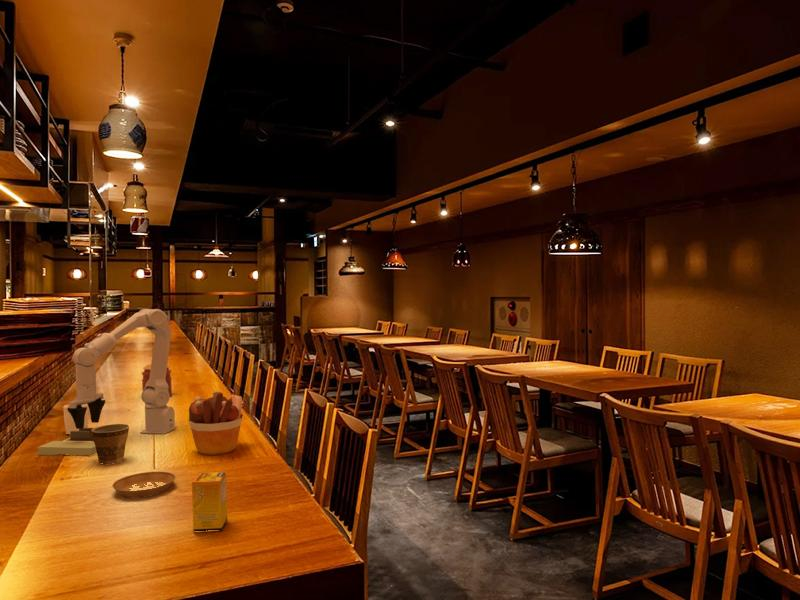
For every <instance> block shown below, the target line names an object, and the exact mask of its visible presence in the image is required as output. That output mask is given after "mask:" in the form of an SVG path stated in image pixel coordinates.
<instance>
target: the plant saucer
mask: <svg viewBox="0 0 800 600" xmlns="http://www.w3.org/2000/svg"><path fill="white" fill-rule="evenodd" d="M176 478H177V477H176V475H175V474H174V473H172V472H168V471H147V472H145V471H144V472H140V473H134V474H130V475H126V476H124V477H121V478H119V479H117V480H116V481H114V482H113V484H112V489H114V490H115V491H116V492H117V493H118V494H120V495H122V497H125V498H131V497H139V498H145V497H144V496H147V497H151V496H150V495H152V496H154V494H155V495H158V494H160V492H161V493H163V492H164V490H165V491H166V490H167V489H168V488H169V487H170V486H171V485H172V484H173V483H174V481H175V480H176ZM147 482H151V483H152V484H153V485H154V487H156V488H152V489H146V490H137V491H130V490H131V489H129V488H133V487H132V485H134V484H137V485H135V486H140V487H139V488H143V487H146V486H145V485H147ZM155 482H158V483H159V482H163V483H166V484H165V485H163V486H159V487H157V486H158V485H157V484H156V483H155ZM144 484H145V485H144ZM148 486H152V485H148ZM162 491H163V492H162ZM157 493H158V494H157Z"/></svg>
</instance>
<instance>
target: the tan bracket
mask: <svg viewBox="0 0 800 600" xmlns="http://www.w3.org/2000/svg"><path fill="white" fill-rule="evenodd" d="M95 453H97V451H96V446H95V444H94V441H70V437H68V438H66V439H63V440H52V441H50V442H47V443H44V444H42V445H40V446H37V455H38V456H55V455H54V454H68V455H93V454H95ZM95 455H96V454H95ZM93 456H94V455H93Z"/></svg>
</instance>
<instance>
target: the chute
mask: <svg viewBox="0 0 800 600" xmlns="http://www.w3.org/2000/svg"><path fill="white" fill-rule="evenodd" d="M94 428H95V427H88V428H82V429H79V431H70V435H69V436H70V437H69V438H70V441H94V440H93V439H92V438H91V436H90V430H91V429H94Z"/></svg>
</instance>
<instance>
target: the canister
mask: <svg viewBox="0 0 800 600" xmlns="http://www.w3.org/2000/svg"><path fill="white" fill-rule="evenodd" d="M169 368H170V365H169V364H167V371H166V379H165V380H166V382H167V384H168V386H169V387H168V392H169V395H170V397H172V395H173V389H172V377H171V373H172V370H171V369H169ZM142 369H144V370H143V372H141V375H142V379H141V384H142V386H141V387H142V388H141V389H142V391H143V390H144V388H145V384H146V382H147V381H148V380H149V377H150V370H151V363H150V364H147V365H146V366H144V367H143V368H142Z"/></svg>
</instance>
